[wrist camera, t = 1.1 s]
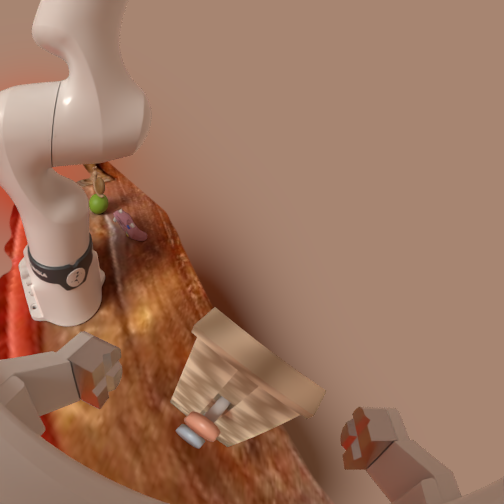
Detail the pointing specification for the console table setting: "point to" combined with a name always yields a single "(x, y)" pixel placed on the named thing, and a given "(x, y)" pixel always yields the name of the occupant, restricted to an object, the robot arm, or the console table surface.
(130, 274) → the console table surface
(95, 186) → the snail figurine
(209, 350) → the beige tall block
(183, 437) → the lower key
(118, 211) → the video game controller
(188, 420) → the reddish round knob
